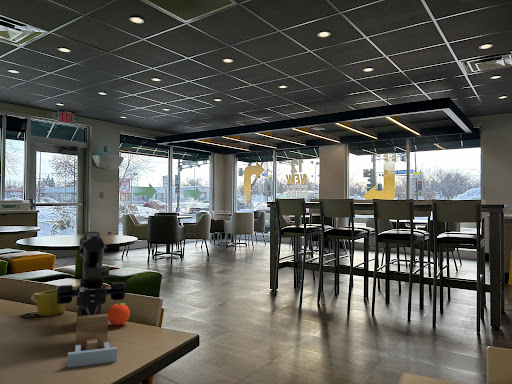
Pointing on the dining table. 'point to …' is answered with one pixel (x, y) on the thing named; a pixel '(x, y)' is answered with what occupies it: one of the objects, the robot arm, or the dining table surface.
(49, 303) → the mug
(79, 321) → the brown upright blocky piece
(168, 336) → the dining table surface
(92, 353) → the slot bracket
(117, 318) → the clementine
